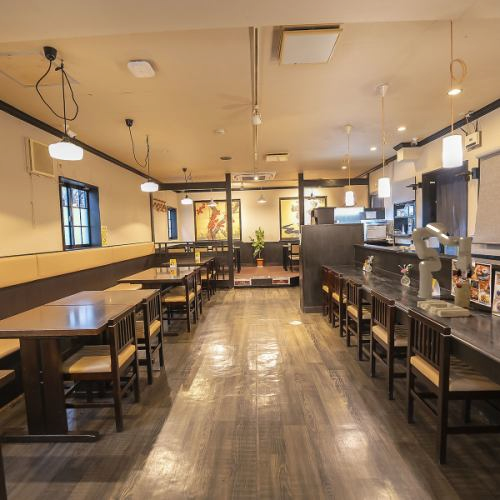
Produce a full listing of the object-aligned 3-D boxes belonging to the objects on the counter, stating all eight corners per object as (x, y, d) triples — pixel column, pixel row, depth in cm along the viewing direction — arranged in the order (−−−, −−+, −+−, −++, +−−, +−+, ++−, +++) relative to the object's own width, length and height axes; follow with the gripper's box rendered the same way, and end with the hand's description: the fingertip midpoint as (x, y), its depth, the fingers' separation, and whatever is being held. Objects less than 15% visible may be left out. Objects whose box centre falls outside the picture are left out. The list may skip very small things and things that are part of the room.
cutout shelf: (417, 306, 231) (417, 301, 231) (442, 305, 232) (442, 300, 232) (440, 316, 205) (440, 311, 205) (469, 316, 206) (469, 310, 206)
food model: (455, 309, 223) (456, 282, 222) (452, 306, 230) (454, 280, 228) (471, 310, 220) (472, 282, 218) (468, 307, 226) (469, 281, 225)
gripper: (451, 253, 230) (450, 275, 231) (468, 255, 212) (468, 279, 214) (460, 252, 230) (460, 275, 231) (479, 254, 213) (478, 279, 214)
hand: (463, 277), depth 222 cm, fingers open, 9 cm apart
